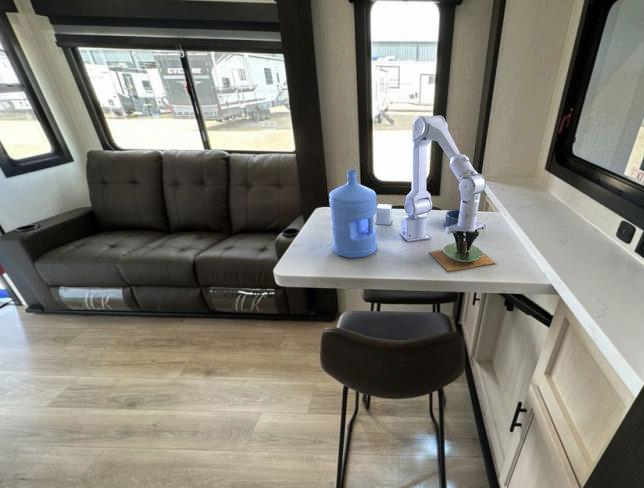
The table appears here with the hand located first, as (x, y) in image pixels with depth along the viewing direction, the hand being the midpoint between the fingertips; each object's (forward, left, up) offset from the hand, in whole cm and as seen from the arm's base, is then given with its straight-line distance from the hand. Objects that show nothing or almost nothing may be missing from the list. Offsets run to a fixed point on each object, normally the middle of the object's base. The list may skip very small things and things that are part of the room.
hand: (462, 250), depth 106 cm
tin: (+14, +26, -3) cm, 30 cm away
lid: (0, 0, -1) cm, 1 cm away
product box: (-16, +40, -3) cm, 43 cm away
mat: (0, 0, -3) cm, 3 cm away
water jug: (-34, +18, -3) cm, 39 cm away
